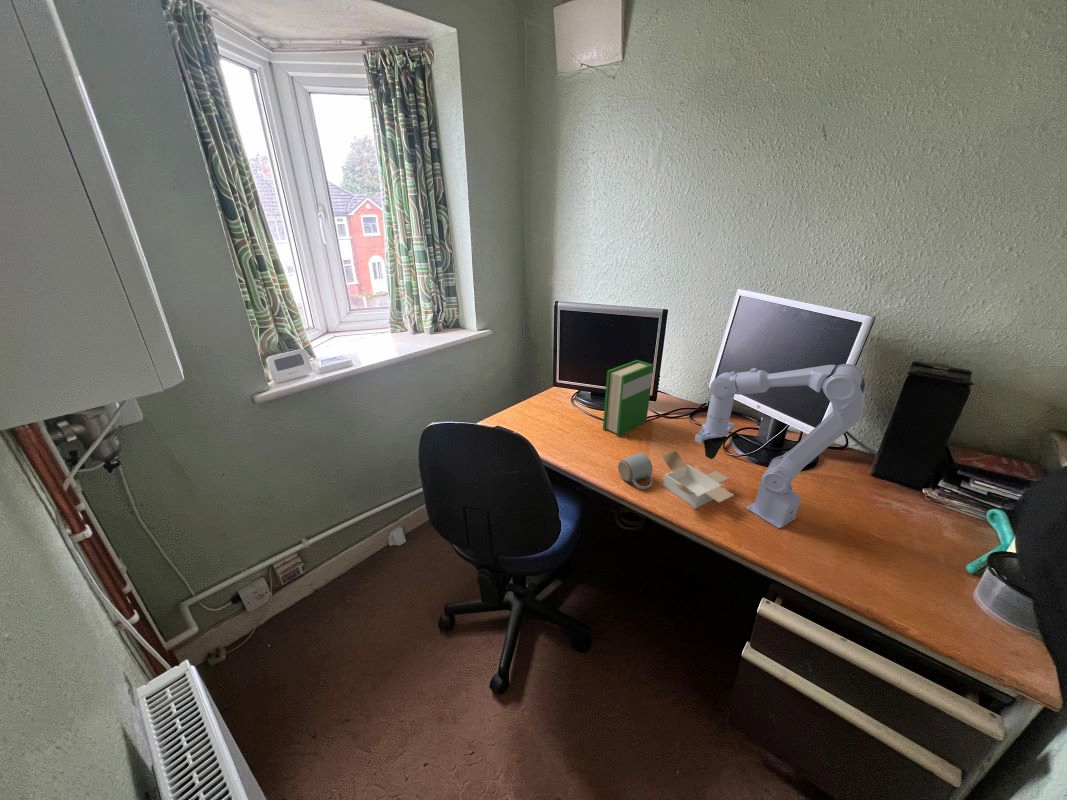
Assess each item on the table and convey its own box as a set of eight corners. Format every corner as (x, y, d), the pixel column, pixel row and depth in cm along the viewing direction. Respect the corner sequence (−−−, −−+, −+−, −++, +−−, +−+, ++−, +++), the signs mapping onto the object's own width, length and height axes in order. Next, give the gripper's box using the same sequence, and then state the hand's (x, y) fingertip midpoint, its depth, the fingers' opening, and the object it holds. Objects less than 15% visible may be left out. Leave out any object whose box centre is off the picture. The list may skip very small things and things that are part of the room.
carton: (743, 500, 115) (746, 488, 113) (709, 518, 108) (712, 505, 106) (695, 471, 128) (698, 460, 126) (662, 486, 121) (664, 474, 119)
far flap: (675, 450, 125) (675, 451, 126) (662, 455, 123) (661, 456, 123) (685, 464, 123) (685, 464, 123) (671, 469, 120) (671, 470, 121)
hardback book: (618, 437, 148) (624, 376, 138) (602, 429, 153) (607, 370, 143) (646, 422, 158) (653, 364, 148) (630, 415, 163) (636, 359, 153)
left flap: (686, 492, 108) (685, 493, 108) (695, 493, 110) (694, 494, 110) (673, 483, 111) (672, 484, 111) (682, 484, 114) (681, 485, 114)
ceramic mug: (615, 474, 126) (617, 454, 123) (636, 468, 130) (638, 448, 126) (636, 494, 118) (639, 472, 114) (658, 486, 121) (662, 465, 118)
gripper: (722, 404, 117) (713, 444, 123) (689, 416, 110) (681, 457, 116) (744, 413, 112) (734, 454, 118) (711, 426, 105) (702, 469, 111)
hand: (709, 457), depth 116 cm, fingers closed
